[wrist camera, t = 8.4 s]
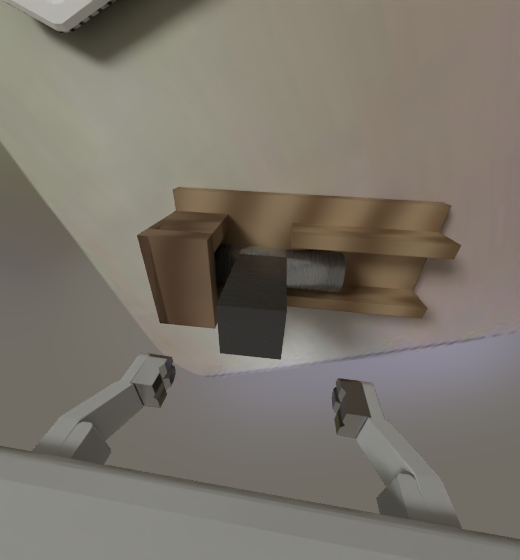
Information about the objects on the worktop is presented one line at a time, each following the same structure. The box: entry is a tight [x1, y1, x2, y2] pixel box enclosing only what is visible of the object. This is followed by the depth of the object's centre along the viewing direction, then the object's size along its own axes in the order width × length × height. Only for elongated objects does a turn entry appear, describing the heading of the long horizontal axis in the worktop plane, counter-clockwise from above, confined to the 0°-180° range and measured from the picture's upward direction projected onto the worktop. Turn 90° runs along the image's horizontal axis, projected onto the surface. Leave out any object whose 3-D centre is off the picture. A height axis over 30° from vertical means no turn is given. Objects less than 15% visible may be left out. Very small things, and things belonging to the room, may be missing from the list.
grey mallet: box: [214, 244, 345, 359], centre depth 18 cm, size 14×4×11 cm, turn 88°
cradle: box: [137, 187, 461, 328], centre depth 21 cm, size 24×12×8 cm, turn 88°
